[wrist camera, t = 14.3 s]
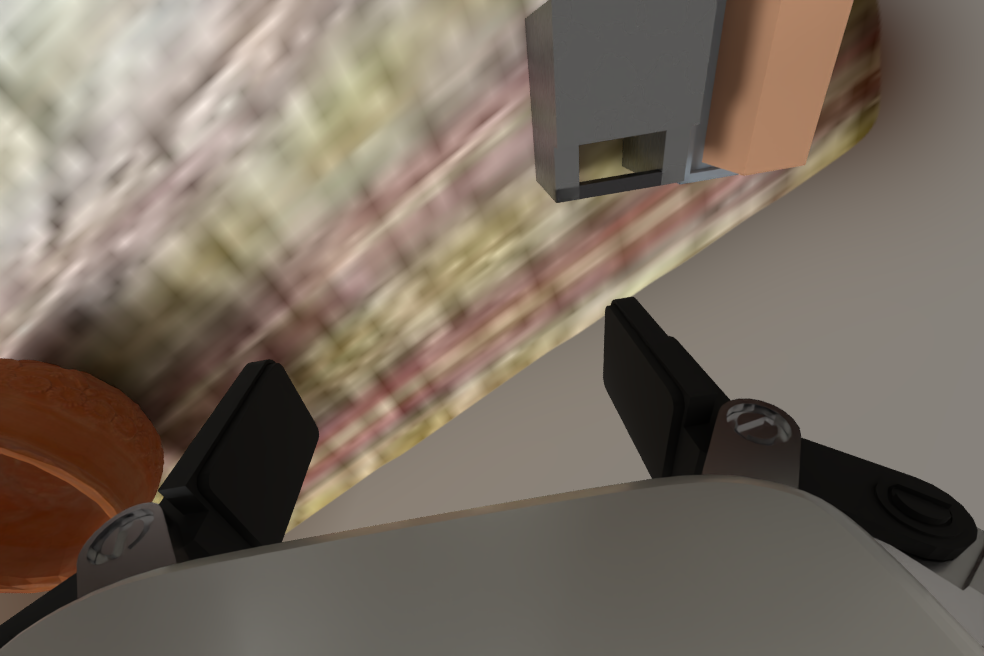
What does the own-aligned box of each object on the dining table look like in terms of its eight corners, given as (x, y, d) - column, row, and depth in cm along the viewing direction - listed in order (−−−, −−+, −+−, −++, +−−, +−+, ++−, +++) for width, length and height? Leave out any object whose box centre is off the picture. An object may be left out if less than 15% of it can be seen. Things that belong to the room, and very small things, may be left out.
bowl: (-127, 342, 38) (-409, 471, 25) (107, 282, 37) (-65, 385, 25) (76, 486, 52) (-43, 615, 39) (251, 444, 51) (187, 564, 38)
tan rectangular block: (730, -24, 28) (791, -46, 23) (796, -36, 28) (871, -60, 23) (701, 162, 35) (743, 175, 30) (754, 153, 36) (805, 164, 31)
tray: (695, -45, 28) (711, -53, 27) (827, -67, 28) (851, -76, 27) (669, 179, 37) (680, 184, 35) (770, 162, 37) (785, 166, 35)
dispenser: (524, 18, 29) (551, -2, 22) (653, -3, 29) (721, -31, 22) (536, 180, 36) (559, 206, 29) (640, 163, 36) (690, 184, 29)
